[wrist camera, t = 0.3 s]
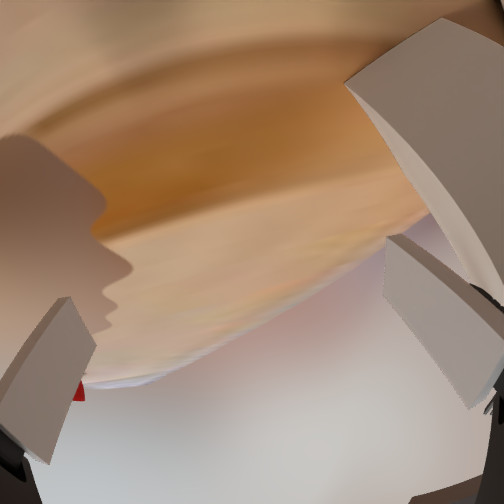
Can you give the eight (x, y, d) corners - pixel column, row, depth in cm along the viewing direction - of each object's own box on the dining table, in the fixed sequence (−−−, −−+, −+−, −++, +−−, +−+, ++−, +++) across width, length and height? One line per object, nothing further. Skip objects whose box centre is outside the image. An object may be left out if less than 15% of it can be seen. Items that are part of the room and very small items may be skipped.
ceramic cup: (35, 364, 66) (34, 391, 60) (72, 366, 68) (72, 396, 62) (55, 373, 76) (55, 398, 70) (90, 375, 78) (91, 402, 72)
